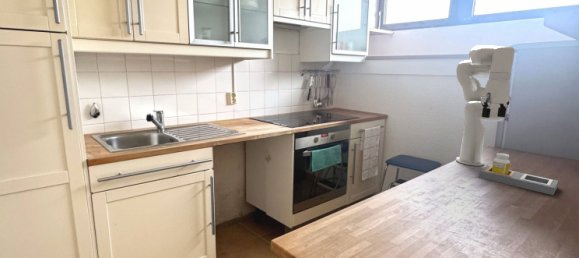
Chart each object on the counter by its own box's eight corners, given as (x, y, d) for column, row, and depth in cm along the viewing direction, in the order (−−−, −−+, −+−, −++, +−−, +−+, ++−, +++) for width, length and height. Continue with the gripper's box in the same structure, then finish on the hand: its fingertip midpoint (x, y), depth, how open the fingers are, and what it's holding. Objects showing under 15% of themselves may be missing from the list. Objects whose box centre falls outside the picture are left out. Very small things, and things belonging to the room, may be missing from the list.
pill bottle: (502, 176, 144) (506, 152, 142) (510, 181, 138) (514, 156, 136) (487, 175, 145) (491, 151, 142) (495, 180, 139) (499, 155, 136)
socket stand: (486, 171, 150) (487, 164, 149) (556, 187, 132) (558, 180, 131) (478, 177, 142) (479, 170, 141) (553, 195, 124) (554, 187, 123)
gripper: (504, 77, 141) (498, 115, 144) (477, 76, 134) (471, 116, 137) (522, 77, 134) (515, 118, 137) (494, 76, 127) (487, 119, 131)
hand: (493, 117), depth 137 cm, fingers open, 9 cm apart
